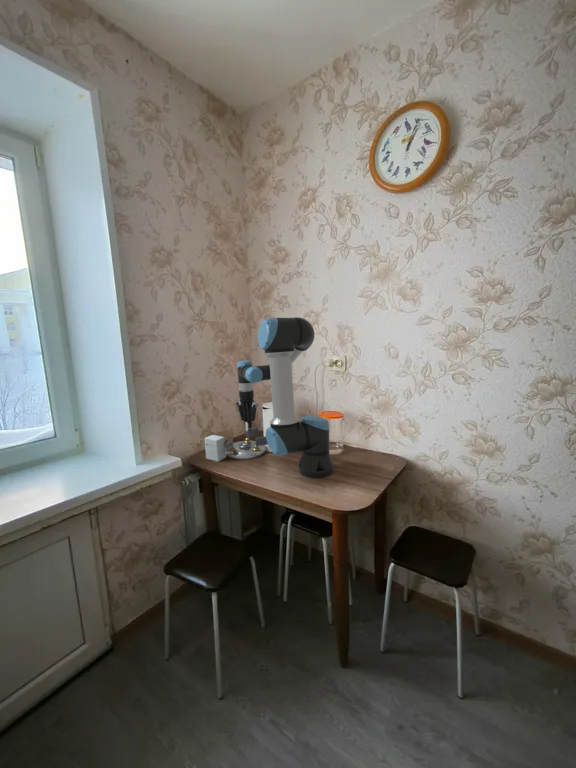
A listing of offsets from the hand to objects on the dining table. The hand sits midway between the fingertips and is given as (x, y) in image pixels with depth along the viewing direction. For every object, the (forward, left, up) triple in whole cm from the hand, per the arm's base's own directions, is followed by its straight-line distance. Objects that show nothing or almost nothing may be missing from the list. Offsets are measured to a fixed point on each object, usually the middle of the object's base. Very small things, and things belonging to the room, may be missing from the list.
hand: (248, 433), depth 177 cm
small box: (+1, +24, -6) cm, 25 cm away
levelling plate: (-6, +10, -5) cm, 13 cm away
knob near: (-15, +8, -3) cm, 18 cm away
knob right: (-3, +1, -3) cm, 4 cm away
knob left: (-4, +19, -3) cm, 20 cm away
